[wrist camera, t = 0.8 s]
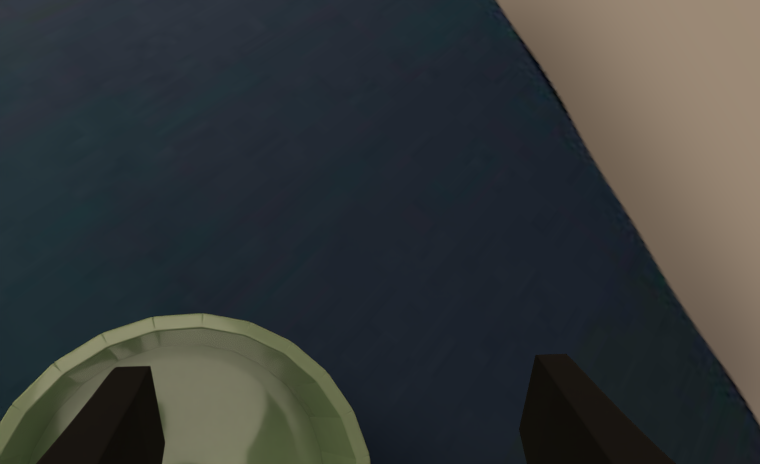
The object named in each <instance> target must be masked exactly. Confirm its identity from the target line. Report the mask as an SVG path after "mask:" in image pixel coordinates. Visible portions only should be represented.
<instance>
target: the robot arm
mask: <svg viewBox="0 0 760 464" xmlns="http://www.w3.org/2000/svg"><path fill="white" fill-rule="evenodd" d="M519 430H520V435H521V439H522V444H523V448H524V453H525V457H526V461H527V464H676V463H675V462H673V461H672V460H671V459H670V458H669V457H668V456H667V455H666V454H665V453H663V452H662V451H661V450H660V449H659V448H658V447H657V446H656V445H655V444H654V443H653V442H652V441H651V440H650V439H649V438H648V437H647V436H646V435H645V434H644V433H643V432H642V431H641V430H640V429H639V428H638V427H637V426H636V425H634V424H633V423H632V422H631V421H630V420H629V419H628V418H627V417H626V416H625V415H624V413H623V412H622V411H621V410H620V409H619V408H618V407H617V406H616V405H615V404H614V403H613V402H612V401H611V400H610V399H609V398H608V397H607V396H606V395H605V394H604V393H603V392H602V391H601V390H600V389H599V388H598V387H597V385H596V384H595V383H594V382H593V381H592V380H591V379H590V378H589V377H588V376H587V375H586V374H585V373H584V372H583V371H582V370H581V369H580V368H579V367H578V365H577V364H576V363H575V362H574V361H573V360H572V359H571V358H570V357H569V356H568V355H567V354H550V355H536V356H535V360H534V365H533V369H532V374H531V378H530V383H529V387H528V392H527V396H526V401H525V405H524V410H523V414H522V419H521V423H520V428H519ZM164 448H165V439H164V434H163V428H162V423H161V418H160V413H159V408H158V403H157V397H156V392H155V387H154V382H153V377H152V371H151V366H127V367H115V368H114V369H113V370H112V371H111V372H110V373H109V374H108V376H107V377H106V378H105V380H104V381H103V382H102V383H101V385H100V386H99V387H98V389H97V390H96V391H95V392H94V394H93V395H92V396H91V398H90V399H89V400H88V401H87V403H86V404H85V405H84V407H83V408H82V409H81V410H80V412H79V413H78V414H77V415H76V416H75V418H74V419H73V420H72V421H71V423H70V424H69V425H68V426H67V428H66V429H65V430H64V431H63V432H62V434H61V435H60V436H59V437H58V438H57V439H56V441H55V442H54V443H53V444H52V445H51V447H50V448H49V449H48V450H47V451H46V452H45V454H44V455H43V456H42V457H41V458H40V459H39V461H38V462H37V463H36V464H162V461H163V455H164Z"/></svg>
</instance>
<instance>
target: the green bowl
mask: <svg viewBox="0 0 760 464" xmlns="http://www.w3.org/2000/svg"><path fill="white" fill-rule="evenodd" d="M127 366H151V371H152V377H153V382H154V387H155V392H156V397H157V403H158V408H159V413H160V418H161V423H162V428H163V434H164V439H165V448H164V455H163V461H162V464H370V456H368V455H369V452H368V449H367V446H366V444H365V441H364V438H363V435H362V432H361V430H360V427H359V424H358V421H357V419H356V416H355V413H354V411H352V410H353V409H352V407H351V406H350V404H349V403H348V401H347V400H346V399H345V397H344V396H343V394H342V393H341V391H340V390H339V388H338V387H337V385H336V384H335V382H334V381H333V380H332V378H331V377H330V375H329V374H328V373H326V370H325V369H323V368H322V367H321V366H320V365H319V364H318V363H316V362H315V361H314V360H313V359H312V358H311V357H309V356H308V355H307V354H306V353H305V352H304V351H302V350H301V349H300V348H299V347H298V346H297V345H295V344H294V343H292V342H291V341H290V340H287V339H285V338H283V337H281V336H279V335H277V334H275V333H273V332H271V331H269V330H266V329H264V328H262V327H260V326H258V325H256V324H254V323H250V322H249V321H243V320H238V319H233V318H227V317H222V316H217V315H211V314H206V313H204V314H202V313H196V314H181V315H167V316H154V317H153V318H152V317H149V318H146V319H143V320H140V321H137V322H134V323H131V324H128V325H125V326H122V327H119V328H115V329H112V330H109V331H106V332H103V333H102V334H99V335H97V336H96V337H94V338H93V339H91V340H89V341H88V342H86V343H84V344H83V345H81V346H80V347H78V348H76V349H75V350H73V351H71V352H70V353H68V354H66V355H65V356H63V357H62V358H60V359H58V360H57V361H55V362H54V364H51V365H50V366H49V367H48V368H47V369H46V370H45V371H44V372H43V373H42V374H41V375H40V376H39V377H38V378H37V379H36V380H35V381H34V382H33V383H32V384H31V385H30V386H29V387H28V388H27V389H26V390H25V391H24V392H23V393H22V394H21V395H20V396H19V397H18V398H17V399H16V400H15V401H14V402H13V403H12V405H11V406H10V407H9V409H8V410H7V412H6V414H5V415H4V417H3V419H2V420H1V422H0V464H36V463H37V462H38V461H39V459H40V458H41V457H42V456H43V455H44V454H45V452H46V451H47V450H48V449H49V448H50V447H51V445H52V444H53V443H54V442H55V441H56V439H57V438H58V437H59V436H60V435H61V434H62V432H63V431H64V430H65V429H66V428H67V426H68V425H69V424H70V423H71V421H72V420H73V419H74V418H75V416H76V415H77V414H78V413H79V412H80V410H81V409H82V408H83V407H84V405H85V404H86V403H87V401H88V400H89V399H90V398H91V396H92V395H93V394H94V392H95V391H96V390H97V389H98V387H99V386H100V385H101V383H102V382H103V381H104V380H105V378H106V377H107V376H108V374H109V373H110V372H111V371H112V370H113V369H114V368H115V367H127Z"/></svg>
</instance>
